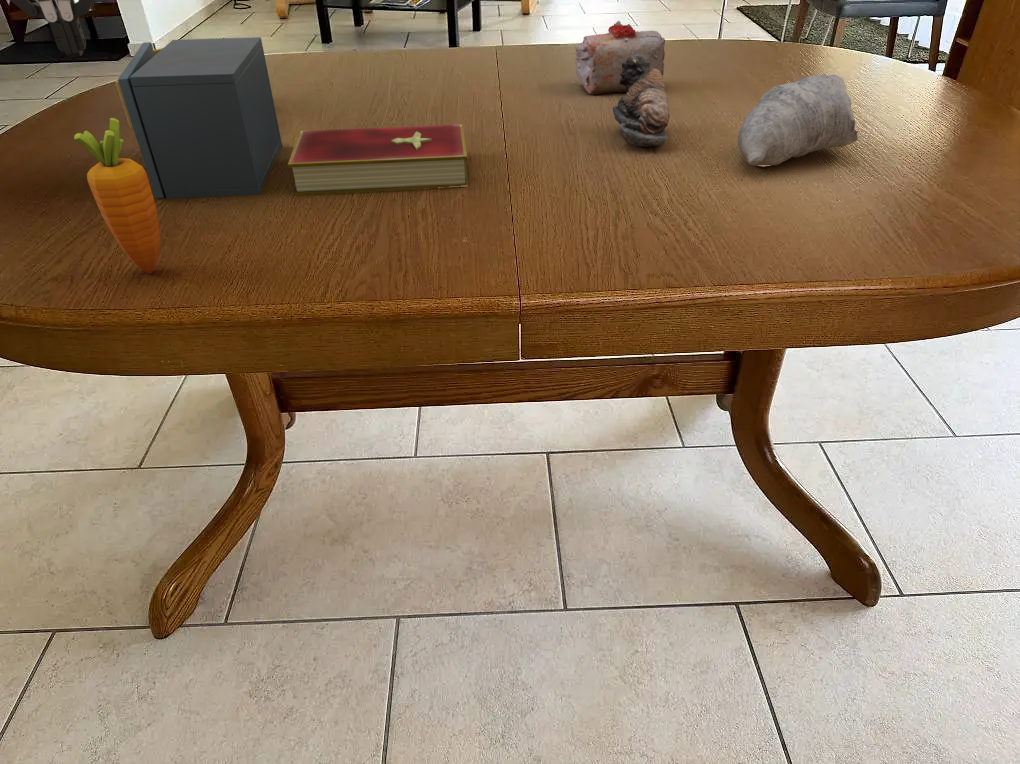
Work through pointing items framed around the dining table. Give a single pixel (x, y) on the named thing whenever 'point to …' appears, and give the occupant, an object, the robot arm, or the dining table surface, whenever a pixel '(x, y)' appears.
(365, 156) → the hardcover book
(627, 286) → the dining table surface
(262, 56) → the cupboard
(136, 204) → the carrot
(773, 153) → the seashell
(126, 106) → the door
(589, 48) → the food item
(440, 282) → the dining table surface
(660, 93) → the bison figurine
